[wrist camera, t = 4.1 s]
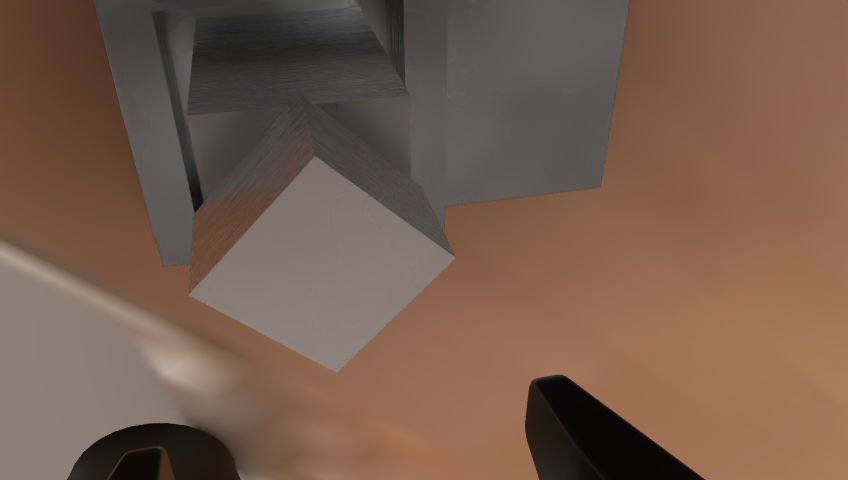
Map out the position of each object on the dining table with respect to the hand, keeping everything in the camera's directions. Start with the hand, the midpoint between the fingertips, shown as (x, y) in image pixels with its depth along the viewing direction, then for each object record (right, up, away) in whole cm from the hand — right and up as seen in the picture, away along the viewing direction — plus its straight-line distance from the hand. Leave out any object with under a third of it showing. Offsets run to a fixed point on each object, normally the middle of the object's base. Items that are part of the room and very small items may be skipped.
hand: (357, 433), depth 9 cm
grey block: (-3, +6, +9) cm, 11 cm away
